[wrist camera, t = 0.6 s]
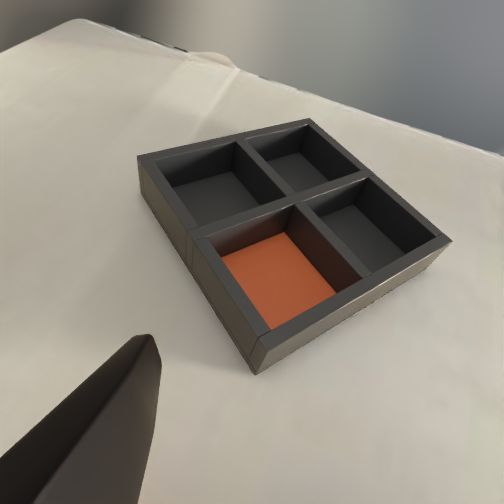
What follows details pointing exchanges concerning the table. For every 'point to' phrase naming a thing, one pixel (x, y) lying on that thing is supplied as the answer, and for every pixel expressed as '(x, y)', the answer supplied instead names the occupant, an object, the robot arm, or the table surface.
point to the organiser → (284, 232)
